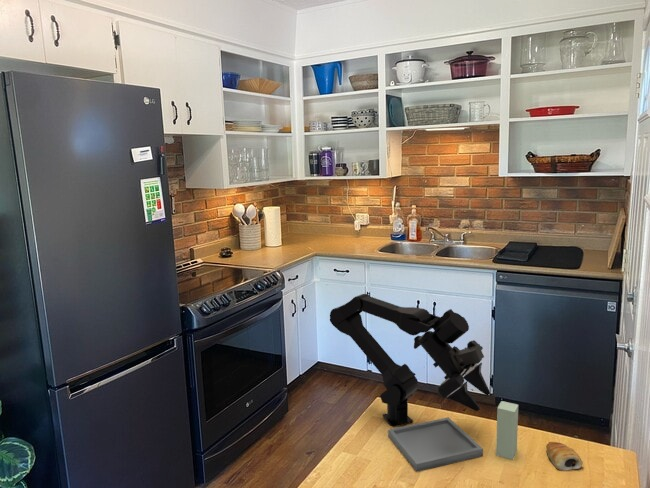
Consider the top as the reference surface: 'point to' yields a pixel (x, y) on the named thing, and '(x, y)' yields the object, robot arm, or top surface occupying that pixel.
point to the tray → (434, 444)
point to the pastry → (563, 456)
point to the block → (507, 430)
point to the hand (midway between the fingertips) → (483, 402)
